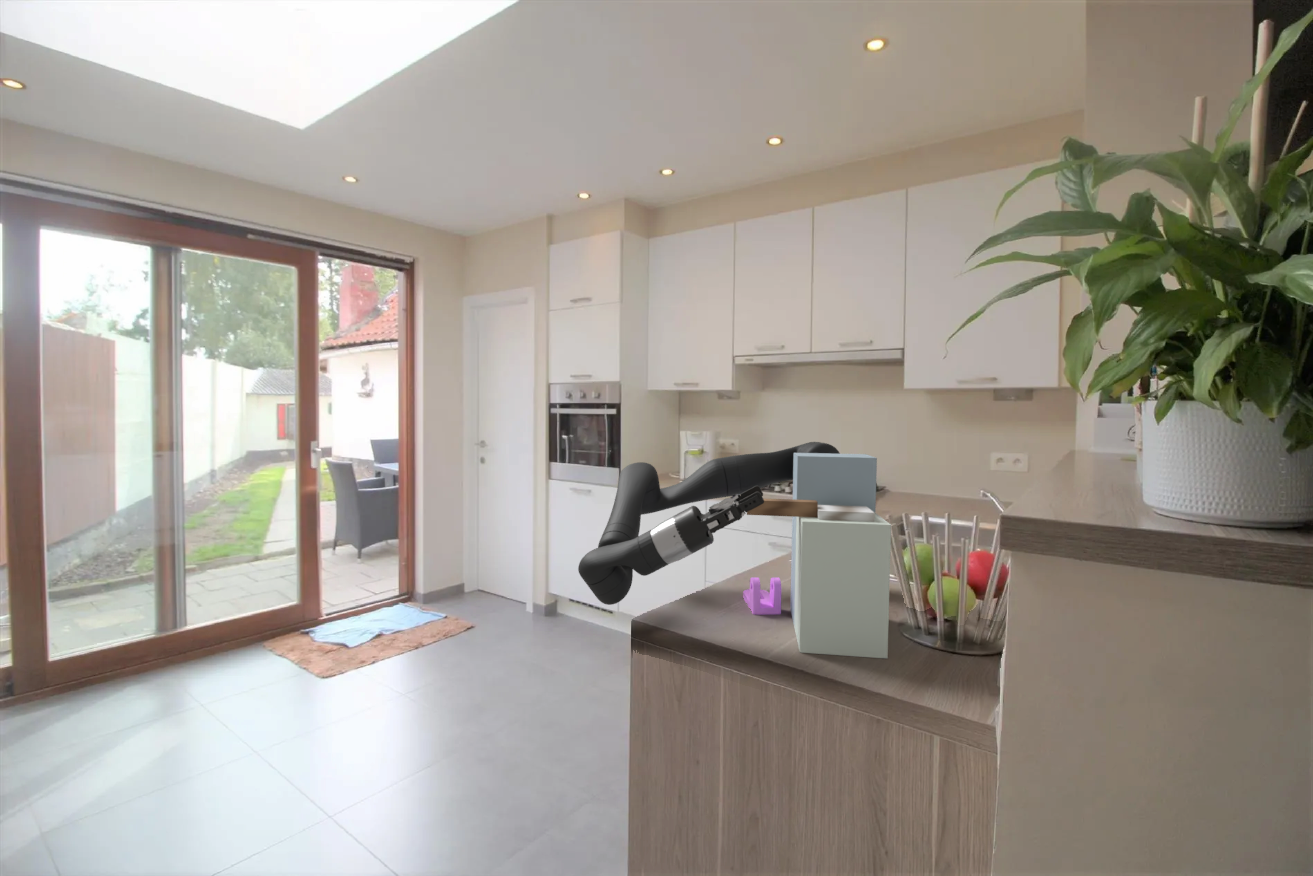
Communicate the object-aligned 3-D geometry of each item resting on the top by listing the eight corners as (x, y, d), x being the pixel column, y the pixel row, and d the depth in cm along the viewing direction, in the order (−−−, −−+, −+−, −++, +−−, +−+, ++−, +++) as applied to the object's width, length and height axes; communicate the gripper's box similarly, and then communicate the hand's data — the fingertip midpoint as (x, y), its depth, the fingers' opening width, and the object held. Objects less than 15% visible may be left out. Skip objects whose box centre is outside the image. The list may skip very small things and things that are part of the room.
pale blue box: (799, 652, 99) (803, 461, 98) (790, 609, 121) (793, 452, 120) (887, 658, 97) (892, 463, 96) (861, 614, 119) (866, 454, 117)
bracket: (780, 615, 118) (781, 580, 118) (753, 615, 118) (753, 580, 118) (765, 595, 131) (766, 563, 131) (740, 595, 131) (741, 563, 131)
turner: (746, 517, 102) (747, 501, 102) (746, 510, 109) (747, 496, 109) (874, 521, 99) (874, 506, 99) (866, 514, 106) (866, 500, 106)
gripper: (666, 524, 101) (751, 478, 98) (676, 510, 115) (751, 470, 112) (688, 563, 100) (773, 518, 98) (695, 544, 114) (770, 505, 112)
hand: (761, 493), depth 105 cm, fingers open, 8 cm apart
